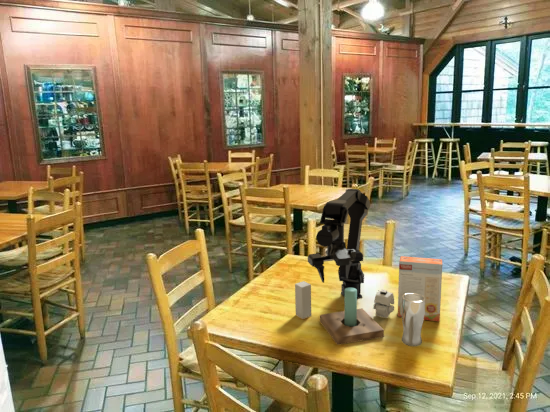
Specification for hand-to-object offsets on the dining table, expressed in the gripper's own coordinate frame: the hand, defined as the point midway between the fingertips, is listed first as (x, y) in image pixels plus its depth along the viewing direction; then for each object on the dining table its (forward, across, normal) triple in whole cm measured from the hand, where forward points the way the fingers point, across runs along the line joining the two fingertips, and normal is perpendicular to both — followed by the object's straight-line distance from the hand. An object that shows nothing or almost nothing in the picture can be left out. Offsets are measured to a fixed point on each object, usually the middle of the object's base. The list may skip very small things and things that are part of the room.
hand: (335, 280), depth 153 cm
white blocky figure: (+13, +15, -7) cm, 21 cm away
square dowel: (+13, -11, +3) cm, 17 cm away
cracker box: (+13, +27, -10) cm, 32 cm away
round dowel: (+13, +1, -11) cm, 17 cm away
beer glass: (+13, +16, -24) cm, 32 cm away
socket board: (+13, +1, -11) cm, 17 cm away
